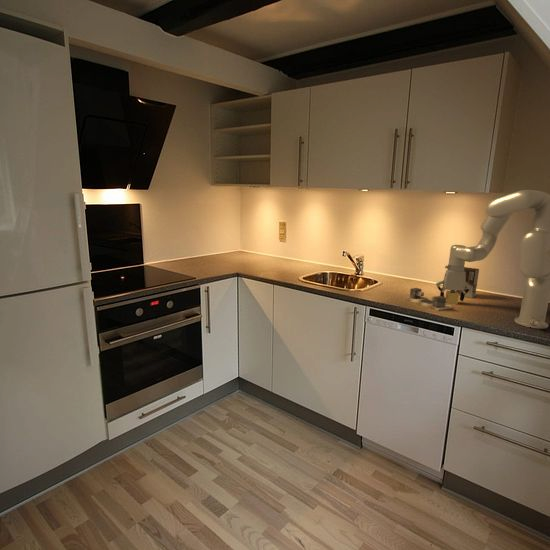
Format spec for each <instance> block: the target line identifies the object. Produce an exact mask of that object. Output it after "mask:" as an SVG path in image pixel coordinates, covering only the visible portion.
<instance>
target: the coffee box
mask: <svg viewBox="0 0 550 550" xmlns="http://www.w3.org/2000/svg"><path fill="white" fill-rule="evenodd" d="M479 271H480V268H475V267H467V266H464V272H465V276H466V279H465V283H467V284H469V285H470V286H472V287H471V288H470V290H469V291H468V292H467V293H466V294H465V296H464V298H470V299H473V298H475V297H476V294H477V287H478V280H479V273H480V272H479ZM465 289H467V286H466V285H465ZM465 289H464V290H465ZM457 292H458V293H459V297H460V294H461V293H462V291H457Z"/></svg>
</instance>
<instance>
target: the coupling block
mask: <svg viewBox="0 0 550 550" xmlns="http://www.w3.org/2000/svg"><path fill="white" fill-rule="evenodd" d="M445 291H446V292H445V297H446V303H445V304H447V305H458V304H459V298H460V296H459V293H458V292H457V291H456V290H445Z"/></svg>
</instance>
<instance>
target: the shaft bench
mask: <svg viewBox="0 0 550 550" xmlns="http://www.w3.org/2000/svg"><path fill="white" fill-rule="evenodd" d="M424 294H425V292H424V291H422V288H419V287H414V288H412V287H411V288H410V292H409V297H404V300H405V299H406V300H405V301H407V300H409V301H408V302H410V301H411V303H413V302H414V304H416V303H417V305H419V304H420V306H422V305H423V307H425V306H426V307H425V308H428V307H429V309H431V308H432V309H431V310H435V311H437V312H438V311H443V310H448V309H453V305H452V304H447V303H446V296H444V297H443V296H440V295H439V296H438V295H437V296H432V297H431V298H427V297H425V296H424Z"/></svg>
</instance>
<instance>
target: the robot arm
mask: <svg viewBox="0 0 550 550" xmlns="http://www.w3.org/2000/svg"><path fill="white" fill-rule="evenodd" d="M522 211H533V212H534V215H533V217H532V220H531V221H532V222H531V224H532V225H531V226H532V227H531V231H528V232H526V233H525V234H524V235H523V236H522V238H521V241H520V246H519V263H518V265H519V272H520V273H521V275H522V276H524V278H526V280H525V284H524V290H523V295H522V299H521V300H522V301H521V305H520V312H519V316H518V317H515V318H514V322H515V323H516V324H517V325H520V326H523V327H527V328H530V327H531V329H538V330H539V329H540V330H542V329H543V330H544V329H547V328H549V323H547V322H545V321H546V317H547V312H548V308H549V307H548V306H549V301H550V255H548V254H547V252H548V251H550V194H549V193H547V192H545V191H541V190H536V189H535V190H532V189H521V190H518V191H515V192H512V193H509V194H506V195H502V196H500V197H497V198H494V199H492V200H490V201H489V202H488V203H487V204H486V207H485V212H486V214H487V216H486V217H485V219H484V220H483V222H482V223H481V225H480V229H481V231H482V235H481V236H482V237H481V238H480V240H479V241H478V243H477V244H476V245H475V246H466V245H463V244H453V245H451V246H450V249H449V256H448V257H449V258H448V264H447V265H445V266H444V269H446V271H445V274H444V277H443V280H442V281H438V282H436V283H435V285H436V287H437V289H438V290H439V292H440V293H439V296H443V297H445V291H447V290H448V291H451V290H455V291H462V293H461V294H460V296H459V301H460V302H463V301H464V300H465V297H464V296H465V294H466V293H467V292H468V291H469V290H470V288H471V287H472V286H470V285H469V284H467V283H465V279H466V276H465V272H464V267H465V264H466V262H467V263H472V262H473V263H474V262H478V261H482V260H485V258H487V257H488V256H489V254H490V253H491V251H493V250H494V247H495V246H496V243H497V240H498V238H499V237H498V236H499V234H500V232H501V231H502V229H503V228H504V227H505V225H506V224H507V222H508V221H509V220H510V218H511V217H512V215H513V214H514V213H518V212H522ZM441 285H442V287H441ZM465 285H466V286H467V289H465ZM464 289H465V290H464Z"/></svg>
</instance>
